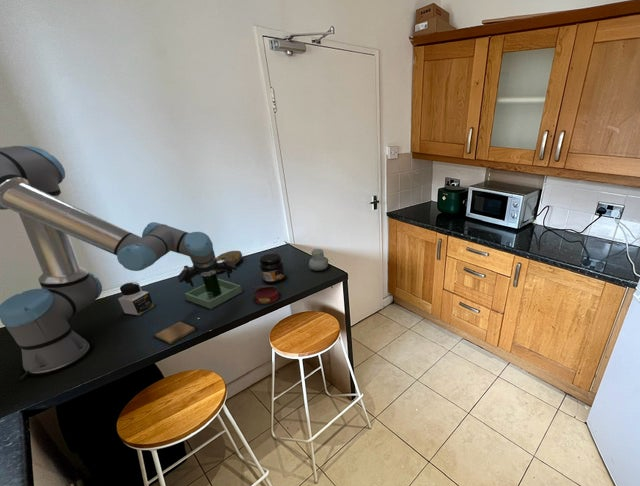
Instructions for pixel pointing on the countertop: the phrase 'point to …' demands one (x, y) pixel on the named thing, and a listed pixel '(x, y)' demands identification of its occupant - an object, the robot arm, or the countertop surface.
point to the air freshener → (318, 260)
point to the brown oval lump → (230, 257)
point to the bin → (204, 300)
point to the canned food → (266, 294)
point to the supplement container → (272, 268)
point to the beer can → (211, 284)
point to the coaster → (175, 332)
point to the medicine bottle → (134, 299)
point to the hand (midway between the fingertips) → (210, 279)
